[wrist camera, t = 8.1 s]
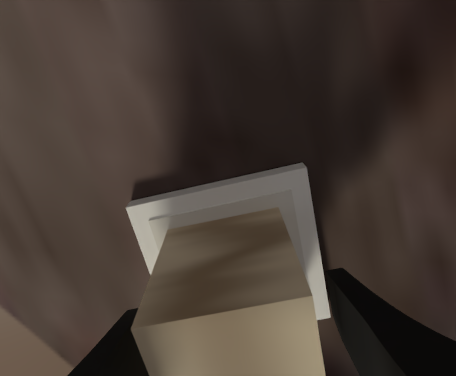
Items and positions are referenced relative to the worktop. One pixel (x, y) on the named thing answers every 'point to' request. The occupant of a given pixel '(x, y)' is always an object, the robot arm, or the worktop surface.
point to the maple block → (229, 303)
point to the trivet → (237, 205)
